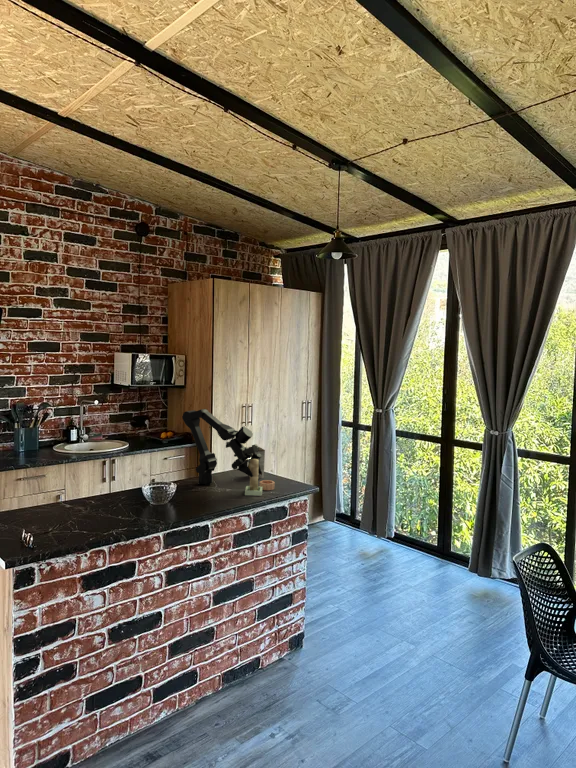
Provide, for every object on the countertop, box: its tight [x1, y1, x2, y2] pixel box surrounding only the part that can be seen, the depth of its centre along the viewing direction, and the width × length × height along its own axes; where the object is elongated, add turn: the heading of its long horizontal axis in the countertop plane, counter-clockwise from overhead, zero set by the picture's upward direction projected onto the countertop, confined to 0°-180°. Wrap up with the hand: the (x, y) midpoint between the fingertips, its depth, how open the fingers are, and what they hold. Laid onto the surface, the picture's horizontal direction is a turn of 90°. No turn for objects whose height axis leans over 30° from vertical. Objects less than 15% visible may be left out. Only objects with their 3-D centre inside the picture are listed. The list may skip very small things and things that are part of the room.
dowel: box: [249, 459, 259, 491], centre depth 259 cm, size 4×4×16 cm
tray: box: [244, 485, 263, 497], centre depth 260 cm, size 8×8×3 cm
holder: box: [258, 479, 276, 491], centre depth 269 cm, size 8×8×4 cm
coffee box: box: [247, 446, 266, 480], centre depth 291 cm, size 9×6×16 cm
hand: (256, 475), depth 259 cm, fingers open, 7 cm apart
